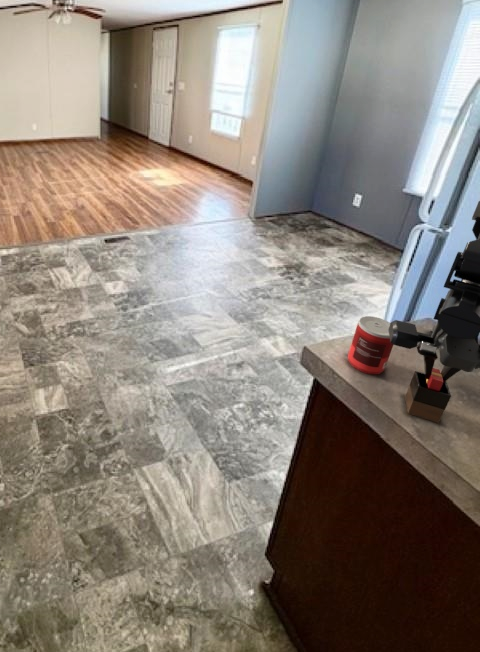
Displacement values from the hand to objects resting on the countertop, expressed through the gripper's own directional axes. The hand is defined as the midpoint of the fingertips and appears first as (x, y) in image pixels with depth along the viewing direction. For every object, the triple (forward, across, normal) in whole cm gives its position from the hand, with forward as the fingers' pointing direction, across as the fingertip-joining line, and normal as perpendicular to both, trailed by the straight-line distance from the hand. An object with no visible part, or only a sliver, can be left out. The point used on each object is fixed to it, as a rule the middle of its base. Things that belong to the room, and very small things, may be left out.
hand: (433, 379), depth 84 cm
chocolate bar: (+1, 0, 0) cm, 1 cm away
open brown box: (+4, 0, 0) cm, 4 cm away
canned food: (+8, -10, +11) cm, 17 cm away
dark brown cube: (+8, 0, 0) cm, 8 cm away
